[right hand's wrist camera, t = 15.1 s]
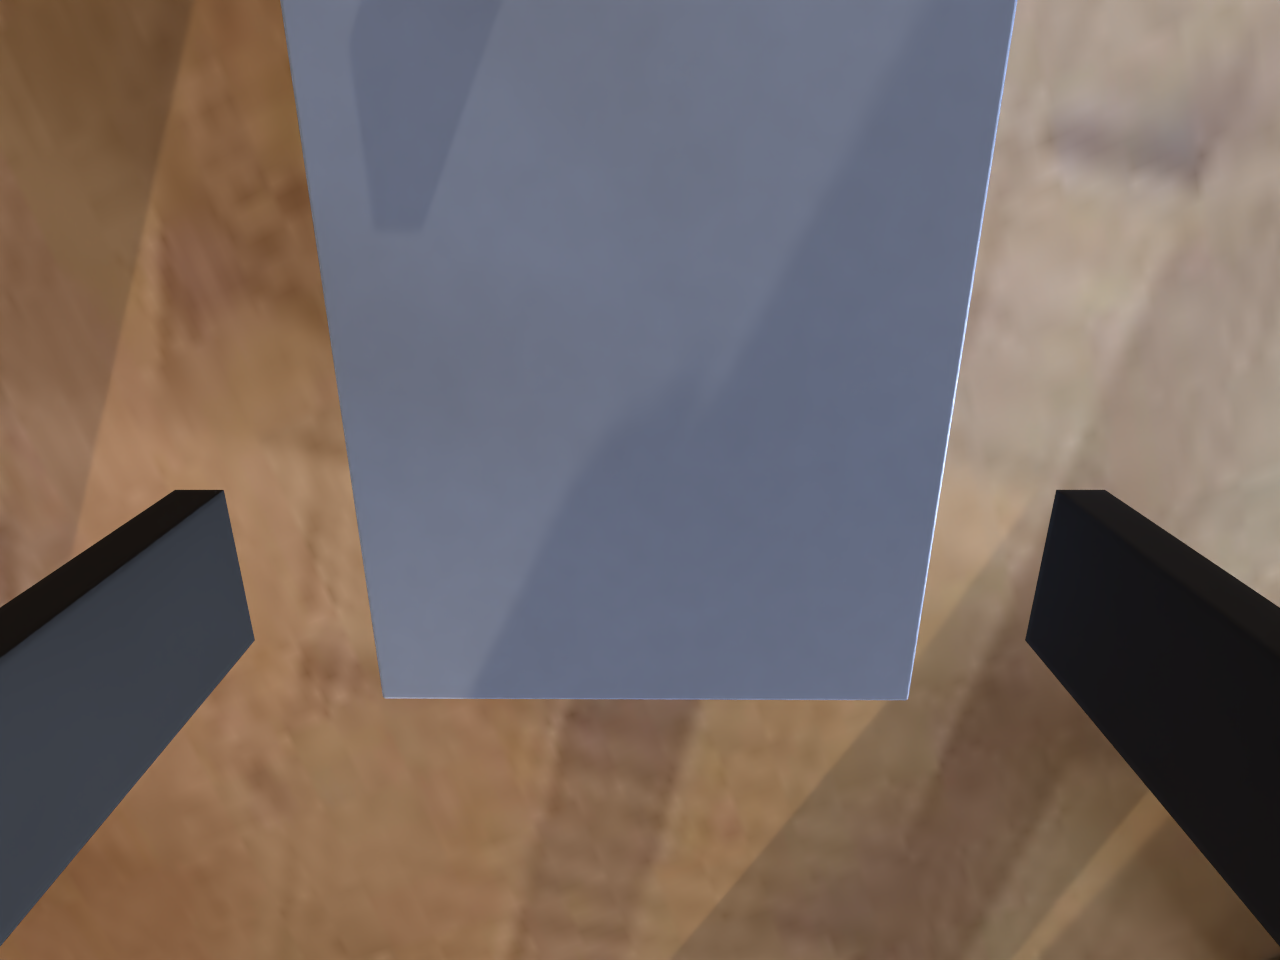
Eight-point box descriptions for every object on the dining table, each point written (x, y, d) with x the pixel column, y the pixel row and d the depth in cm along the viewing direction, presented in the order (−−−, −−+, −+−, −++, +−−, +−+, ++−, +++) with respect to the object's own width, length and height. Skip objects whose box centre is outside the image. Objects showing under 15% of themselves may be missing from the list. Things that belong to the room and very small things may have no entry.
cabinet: (435, -174, 19) (194, -564, 9) (858, -174, 19) (1107, -565, 9) (486, 486, 26) (381, 700, 16) (802, 487, 26) (908, 701, 16)
